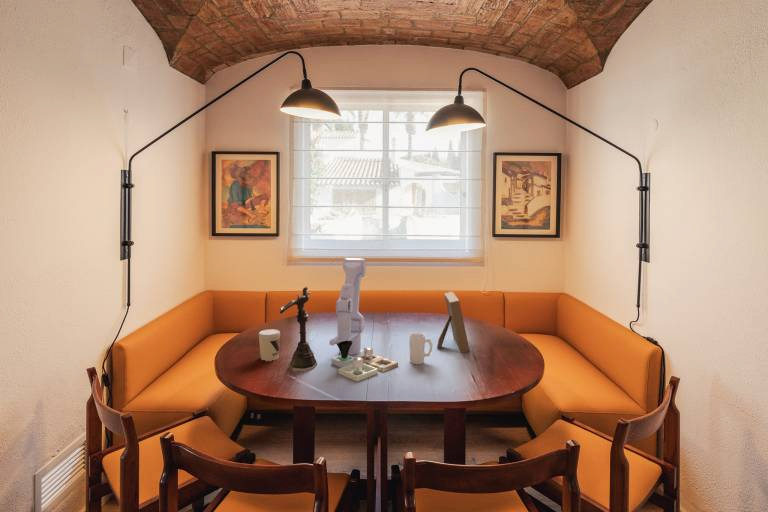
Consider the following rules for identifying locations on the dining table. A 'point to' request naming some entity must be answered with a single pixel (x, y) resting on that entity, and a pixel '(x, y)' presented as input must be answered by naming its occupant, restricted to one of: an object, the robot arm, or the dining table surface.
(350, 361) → the button housing
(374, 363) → the cream parts tray
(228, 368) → the dining table surface
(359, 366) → the billet
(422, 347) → the mug
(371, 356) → the billet
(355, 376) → the tray
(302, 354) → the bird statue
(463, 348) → the photo frame
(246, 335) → the dining table surface
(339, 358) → the button
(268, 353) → the coffee cup
